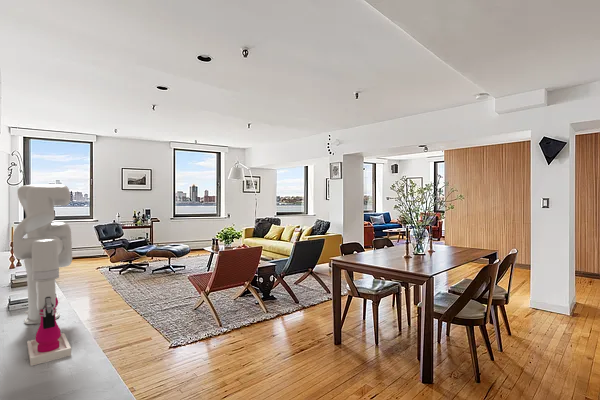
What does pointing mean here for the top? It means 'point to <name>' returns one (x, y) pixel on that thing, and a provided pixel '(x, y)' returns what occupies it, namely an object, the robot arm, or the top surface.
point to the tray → (43, 357)
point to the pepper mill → (48, 334)
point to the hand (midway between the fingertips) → (47, 323)
